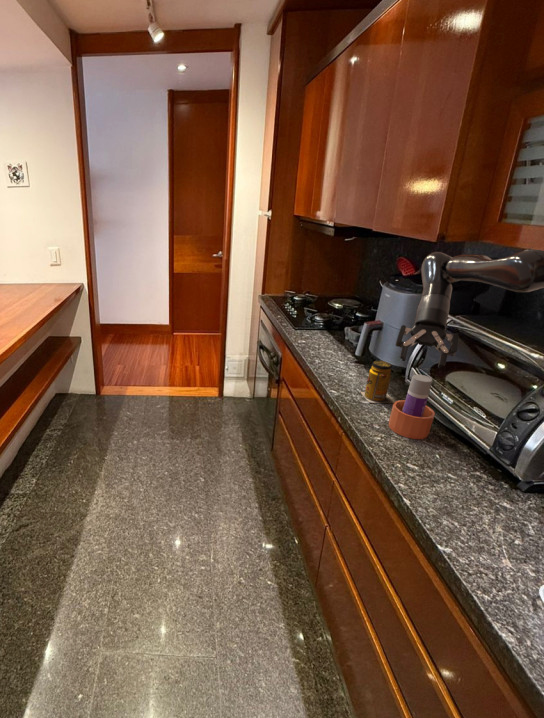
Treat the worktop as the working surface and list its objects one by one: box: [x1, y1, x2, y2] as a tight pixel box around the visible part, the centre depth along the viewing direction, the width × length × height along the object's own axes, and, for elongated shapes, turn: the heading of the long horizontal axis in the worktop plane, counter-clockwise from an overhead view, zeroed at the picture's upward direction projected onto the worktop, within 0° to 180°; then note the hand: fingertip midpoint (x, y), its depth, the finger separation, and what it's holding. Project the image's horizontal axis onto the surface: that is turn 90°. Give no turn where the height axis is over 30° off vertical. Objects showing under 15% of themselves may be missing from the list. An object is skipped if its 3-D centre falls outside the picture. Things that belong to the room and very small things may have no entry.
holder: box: [388, 399, 436, 440], centre depth 106 cm, size 10×10×6 cm
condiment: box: [360, 360, 396, 404], centre depth 122 cm, size 7×8×12 cm
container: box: [402, 374, 433, 417], centre depth 105 cm, size 5×5×15 cm
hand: (421, 363), depth 107 cm, fingers open, 8 cm apart
